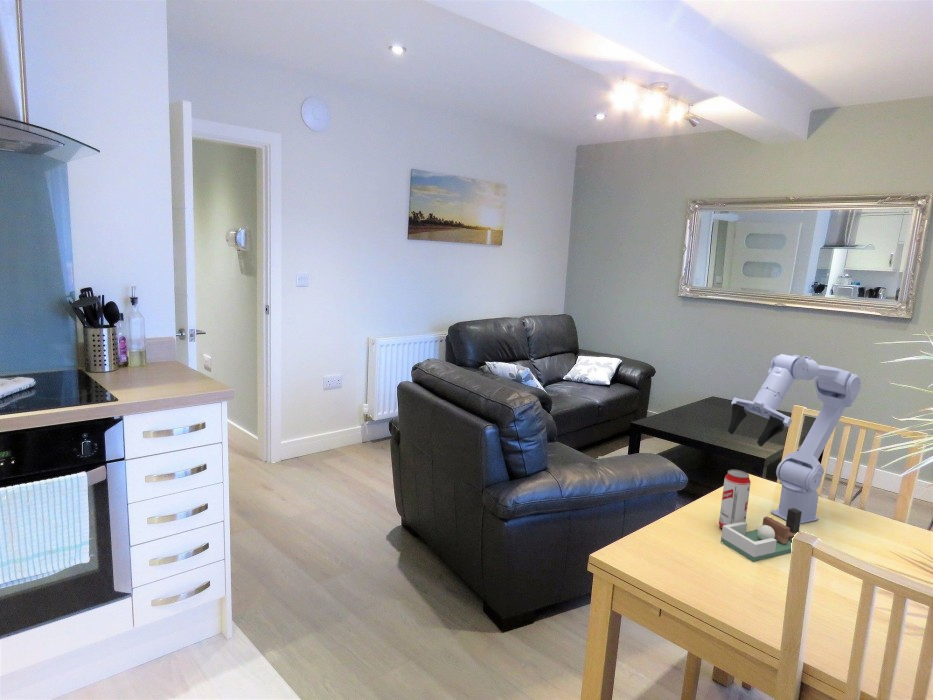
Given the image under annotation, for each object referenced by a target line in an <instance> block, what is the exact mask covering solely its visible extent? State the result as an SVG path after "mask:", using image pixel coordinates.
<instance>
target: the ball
mask: <svg viewBox="0 0 933 700" xmlns="http://www.w3.org/2000/svg"><path fill="white" fill-rule="evenodd" d="M762 525H763V524H762ZM762 525H760V526H759V527H758V528H757V530H758V531H757V533H758V536H759V538H760V539H761V540H765V539H769V538H775V531H774V530H773V528H772V527H770V526H768V525H763V526H762Z"/></svg>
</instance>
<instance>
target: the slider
mask: <svg viewBox="0 0 933 700" xmlns="http://www.w3.org/2000/svg"><path fill="white" fill-rule="evenodd" d="M801 514H802V512H801V511H799V510H797V509H795V508H792V509H788V514H787V520H785V521H786V522H785V524H783V523H781V522H779V521H778V520H776V519H773V518H772V517H769V516H765V517H763V519H762V525H761V526H763V525H768V526H770V527H772V528H773V530H774V531H775V538H774V539H776V540H777V541H779V542H781V543H783V544H785V543H788V539H792V538H793V537H794V535H795V534H796V533H797V532H798V533H800V526H801V524H800V521H801Z"/></svg>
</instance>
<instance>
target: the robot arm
mask: <svg viewBox="0 0 933 700" xmlns="http://www.w3.org/2000/svg"><path fill="white" fill-rule="evenodd" d="M795 380H796V381H801V380H802V381H811V380H813V383H814V387H815V390H816V395H817V399H819V400H820V401H821V402H822V403H823V405H822V407H821V409H820V411H818V412H819V413H818V414H817V416H816V418H815V420H814V421H813V424H812V425H811V427H810V429H809V431H808V432H807V435H806V436H805V438H804V439H803V442H802V444H801V446H800V448H799V449H798V451H793V452H790V453H787V454H786V455H785V457H784V459H783V460H781V461H780V462H779V463H778V465H777V467H776V471H775V473H776V477H777V480H779V484H780V485H781V490H780V497H779V503H778V509H774V510H773V509H772V510H771V511H770V513H771V514H773V515H775V516H777V517H779V518H781V519H783V520H785V521H787V514H788V509H792V508H795V509H797V510H799V511H801V512H802V514H801V521H800V525H801V524H806V523H810V522H814V521H818V520H819V518H818V517H817V510H818V502H819V494H818V492H817V490H818V489H819V488H820V486H821V484H822V478H823V476H824V474H825V473H824V472H825V470H824V466H823V465H822V464H821V463H820V461H819V459H820V456H821V454H822V453H823V451H824V449H825V447H826V445H827V444H828V442H829V440H830V439H831V436H832V434H833V433H834V430H835V429H836V426H837V425H838V423H839V422H840V419H841V417H842V416H843V413H844V411H845V410H846V409H847V408H849V407H852V405H853V403H854V402H855V400H856V398H857V396H858V395H859V393H860V391H861V384H862V383H861V378H860V376H859V375H858V374H856V373H852V372H851V371H847V370H844V369H841V368H839V367H833V366H827V365H823V364H822V365H821V364H818V363H817V362H816V361H815V360H814V359H812V357H811V356H807V355H803V357H801V355H799V354H793V355H789V354H784V353H780V354H779V355H776V356H775V357H773V358H772V359H771V362H770V367H769V370H768V371H767V377H766V379H765V380H764V382H763V383H762V385H761V387H760V389H759V390H758V392H757V393H756V395H755V396H754V398H753V400H748V399H742V398H738V397H735V396H734V397H733V399H732V401H730V402H731V403H730V404H731V411H732V412H731V419H730V423H729V426H728V429H727V431H728V433H729V434H730V435H733V434H734V433H735V432H736V430H737V428H738V426H739V425H740V424H741V422H742V421H743V420H745V418H747V416H748V415H747V414H748V413H746V412H750V413H752V414H754V415H757V416H760V417H761V418H764V419H767V420H768V421H767V424H766V426H765V427H764V430H763V431H762V432H761V435H760V436H759V437H758V439H757V441H756V443H757V444H758V446H759V447H763V446H764V445H765V444H766V443H767V442H768V441H769V440H770V439H771V438H773V437H774V436H776V435H778V434H781V433H782V432H784V429H785V428H784V427H786V428H789V427H790V425H791V424H792V422H793V419H792V417H790V416H787V415H786V414H783V413H781V412H779V411H777V410H778V409H779V406H780V405H781V404H782V401H783V399H785V396H786V395H787V393H788V392H789V390H790V388H791V387H792V385H793V383H794V382H795Z"/></svg>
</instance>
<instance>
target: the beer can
mask: <svg viewBox="0 0 933 700" xmlns="http://www.w3.org/2000/svg"><path fill="white" fill-rule="evenodd" d="M723 481H724V482H723V486H722V487H723V489H722V496H721V504H720V511H719V518H718V525H719V527H720V529H721V528H723V526H724V525H729V524H734V523H739V522H745V523H746V522H747V513H748V505H749V498H750V497H749V496H750V488H751V482H752V481H751V479H750V474H749V473H748V472H746V471H745V470H744V471H743V470H739V469H729V470H727V474H725V477H724V480H723Z"/></svg>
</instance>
